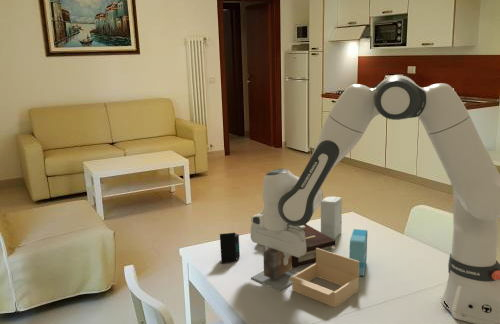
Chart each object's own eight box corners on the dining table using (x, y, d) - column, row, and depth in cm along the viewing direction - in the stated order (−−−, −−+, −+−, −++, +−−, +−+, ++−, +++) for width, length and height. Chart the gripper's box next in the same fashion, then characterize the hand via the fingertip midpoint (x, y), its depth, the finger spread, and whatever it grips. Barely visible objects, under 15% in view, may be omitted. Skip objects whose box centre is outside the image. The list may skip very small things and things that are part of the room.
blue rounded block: (363, 277, 146) (364, 242, 143) (348, 276, 147) (349, 241, 145) (366, 261, 157) (367, 228, 154) (352, 260, 158) (353, 227, 156)
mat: (304, 276, 148) (304, 275, 147) (280, 290, 139) (280, 289, 139) (275, 265, 156) (275, 264, 156) (251, 278, 147) (251, 277, 147)
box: (291, 269, 149) (291, 246, 147) (273, 279, 142) (273, 255, 141) (282, 265, 151) (281, 242, 150) (264, 275, 145) (263, 251, 143)
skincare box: (334, 240, 176) (335, 202, 173) (319, 237, 179) (320, 200, 176) (341, 232, 183) (342, 196, 180) (327, 230, 186) (328, 194, 183)
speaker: (237, 264, 157) (235, 234, 156) (221, 263, 158) (219, 234, 157) (241, 256, 165) (240, 228, 163) (226, 256, 166) (224, 228, 164)
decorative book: (294, 251, 150) (252, 223, 176) (294, 273, 151) (253, 241, 177) (342, 239, 158) (295, 214, 184) (342, 260, 160) (295, 232, 186)
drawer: (358, 290, 138) (359, 261, 136) (330, 311, 127) (330, 279, 125) (316, 275, 148) (316, 247, 146) (287, 293, 138) (286, 263, 136)
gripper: (310, 225, 138) (310, 267, 141) (260, 211, 152) (260, 250, 155) (297, 231, 134) (298, 275, 137) (246, 216, 148) (248, 256, 151)
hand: (278, 261), depth 146 cm, fingers closed on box, 4 cm apart
